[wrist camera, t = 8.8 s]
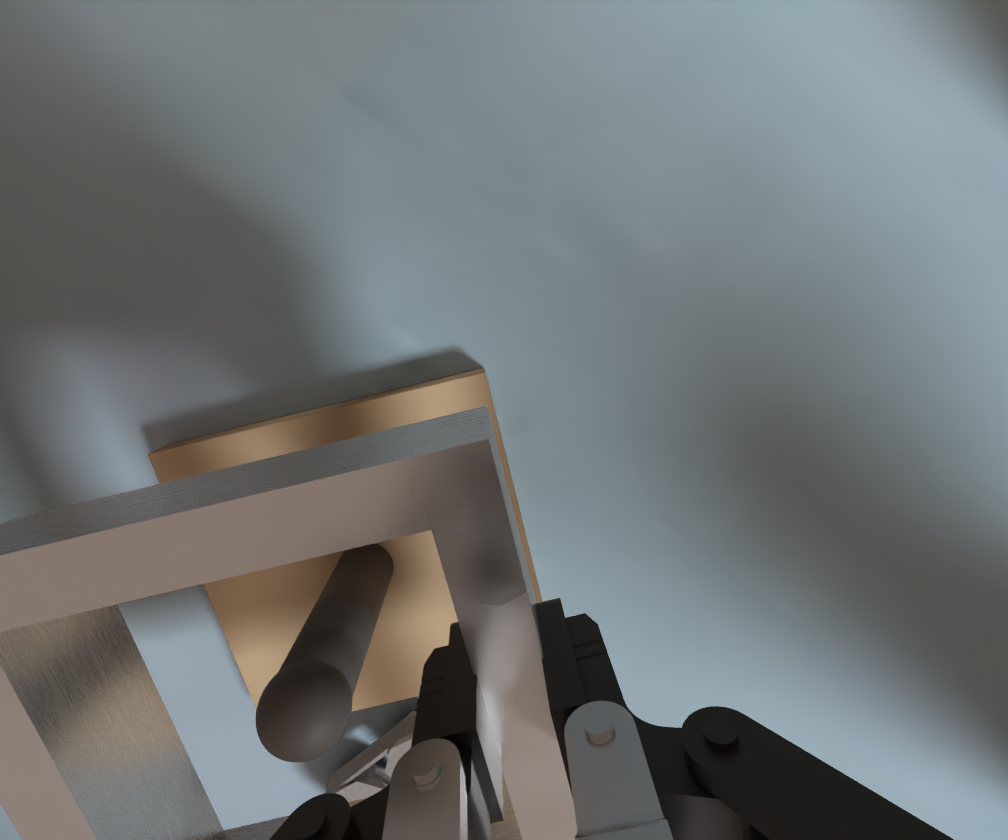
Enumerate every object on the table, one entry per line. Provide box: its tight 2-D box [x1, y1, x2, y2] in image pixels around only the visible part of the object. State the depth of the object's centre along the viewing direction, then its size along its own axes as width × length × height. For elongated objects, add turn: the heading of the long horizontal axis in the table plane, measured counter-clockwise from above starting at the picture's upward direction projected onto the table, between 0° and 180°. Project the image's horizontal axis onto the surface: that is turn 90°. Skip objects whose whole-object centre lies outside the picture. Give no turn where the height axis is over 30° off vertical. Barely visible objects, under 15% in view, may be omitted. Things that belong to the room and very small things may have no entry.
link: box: [0, 406, 577, 840], centre depth 13 cm, size 12×12×3 cm
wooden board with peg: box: [148, 368, 542, 762], centre depth 16 cm, size 12×12×9 cm
